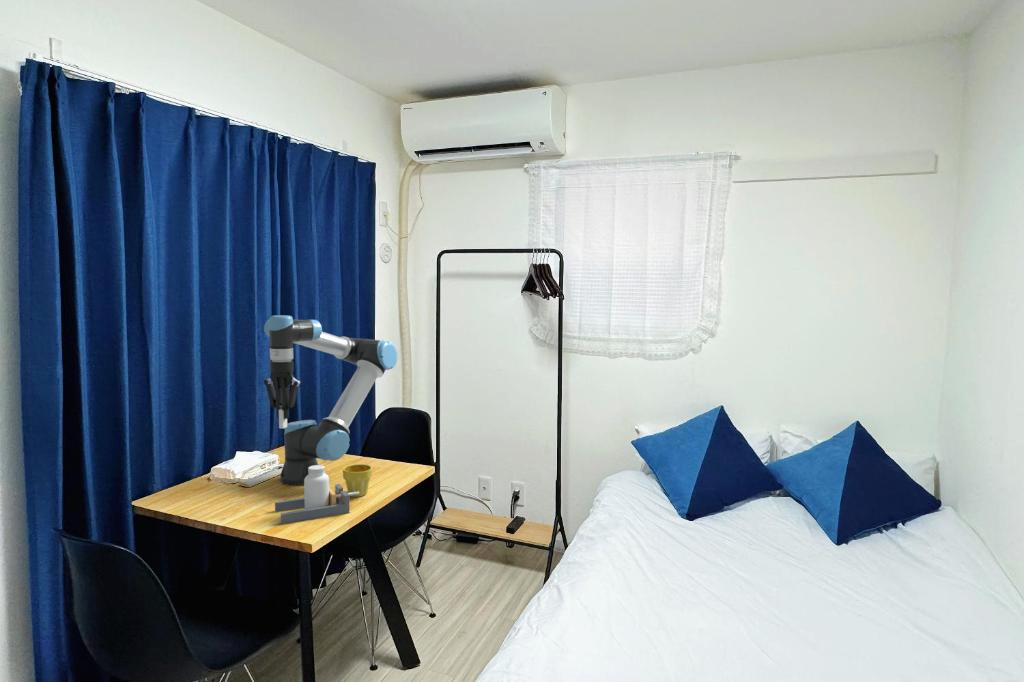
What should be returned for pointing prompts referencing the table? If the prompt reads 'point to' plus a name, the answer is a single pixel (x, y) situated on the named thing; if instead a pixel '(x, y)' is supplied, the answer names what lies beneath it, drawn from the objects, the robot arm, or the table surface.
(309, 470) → the pill bottle
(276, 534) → the table surface
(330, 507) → the lane
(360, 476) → the plant pot
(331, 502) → the pusher
